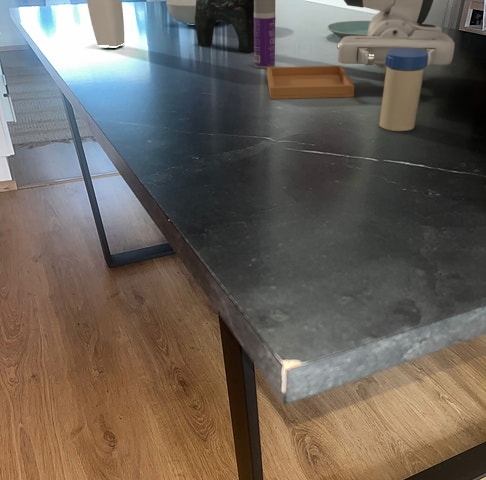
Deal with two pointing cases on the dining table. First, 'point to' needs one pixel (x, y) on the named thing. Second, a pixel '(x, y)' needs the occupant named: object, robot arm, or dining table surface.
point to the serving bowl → (183, 10)
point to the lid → (406, 59)
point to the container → (264, 33)
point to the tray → (309, 82)
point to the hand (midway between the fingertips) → (397, 60)
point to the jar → (400, 99)
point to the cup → (107, 21)
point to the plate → (349, 28)
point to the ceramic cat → (226, 20)
